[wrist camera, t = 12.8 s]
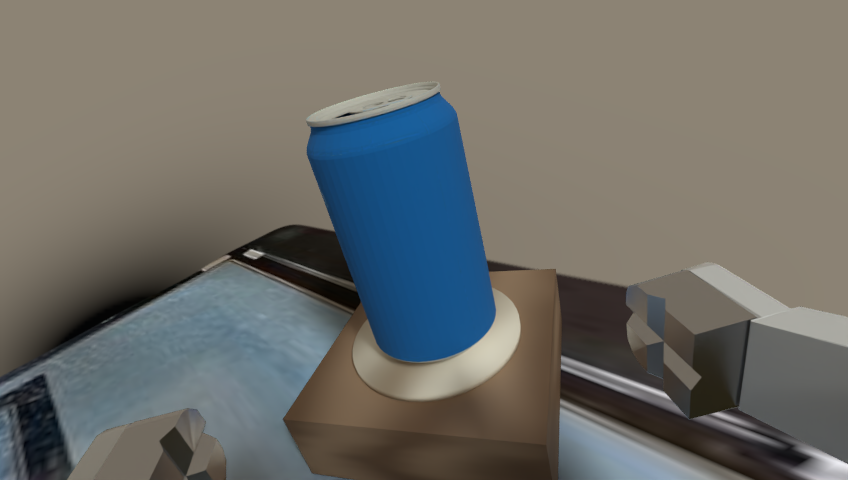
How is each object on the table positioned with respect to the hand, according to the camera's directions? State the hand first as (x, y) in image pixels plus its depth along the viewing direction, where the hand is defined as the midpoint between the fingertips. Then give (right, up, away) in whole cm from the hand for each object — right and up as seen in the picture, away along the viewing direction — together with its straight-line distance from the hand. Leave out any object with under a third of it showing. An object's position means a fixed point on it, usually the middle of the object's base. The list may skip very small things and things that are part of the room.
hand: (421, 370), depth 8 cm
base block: (+2, -6, +17) cm, 18 cm away
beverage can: (+1, -2, +15) cm, 15 cm away
